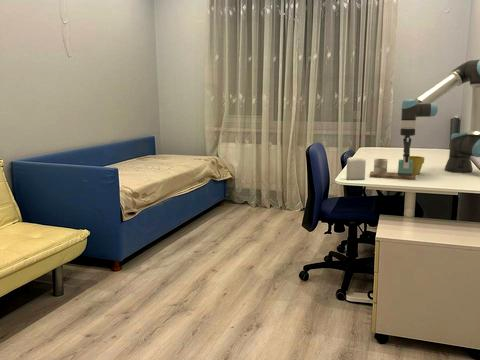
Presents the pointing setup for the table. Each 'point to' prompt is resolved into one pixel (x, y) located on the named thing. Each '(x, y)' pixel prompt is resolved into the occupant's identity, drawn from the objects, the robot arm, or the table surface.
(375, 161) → the peg board
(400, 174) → the teal sleeve
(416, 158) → the plant pot
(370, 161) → the table surface
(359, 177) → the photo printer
